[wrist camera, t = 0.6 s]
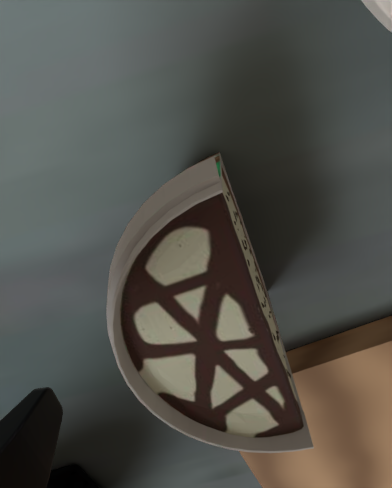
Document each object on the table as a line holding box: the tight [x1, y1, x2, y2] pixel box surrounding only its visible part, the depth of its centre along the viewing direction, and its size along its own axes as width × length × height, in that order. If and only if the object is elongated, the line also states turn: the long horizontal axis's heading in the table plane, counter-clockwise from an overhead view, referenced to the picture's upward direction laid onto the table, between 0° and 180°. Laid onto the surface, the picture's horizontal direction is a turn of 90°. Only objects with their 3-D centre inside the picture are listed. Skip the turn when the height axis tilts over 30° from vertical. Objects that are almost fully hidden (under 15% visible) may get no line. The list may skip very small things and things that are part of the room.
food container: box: [106, 152, 314, 453], centre depth 17 cm, size 12×6×10 cm, turn 21°
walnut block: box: [239, 316, 392, 488], centre depth 27 cm, size 14×16×2 cm
